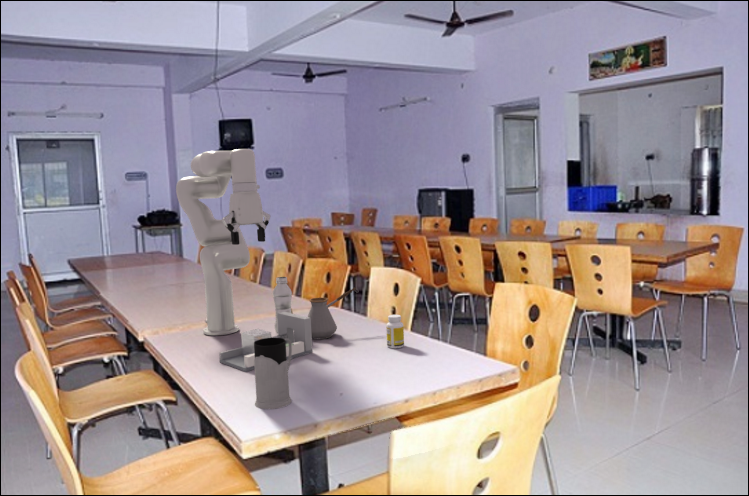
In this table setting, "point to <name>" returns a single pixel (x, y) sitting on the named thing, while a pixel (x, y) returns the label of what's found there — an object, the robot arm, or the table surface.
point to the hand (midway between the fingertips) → (248, 242)
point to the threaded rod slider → (255, 339)
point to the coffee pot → (323, 317)
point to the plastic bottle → (282, 298)
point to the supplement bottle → (395, 332)
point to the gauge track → (286, 324)
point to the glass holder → (272, 373)
